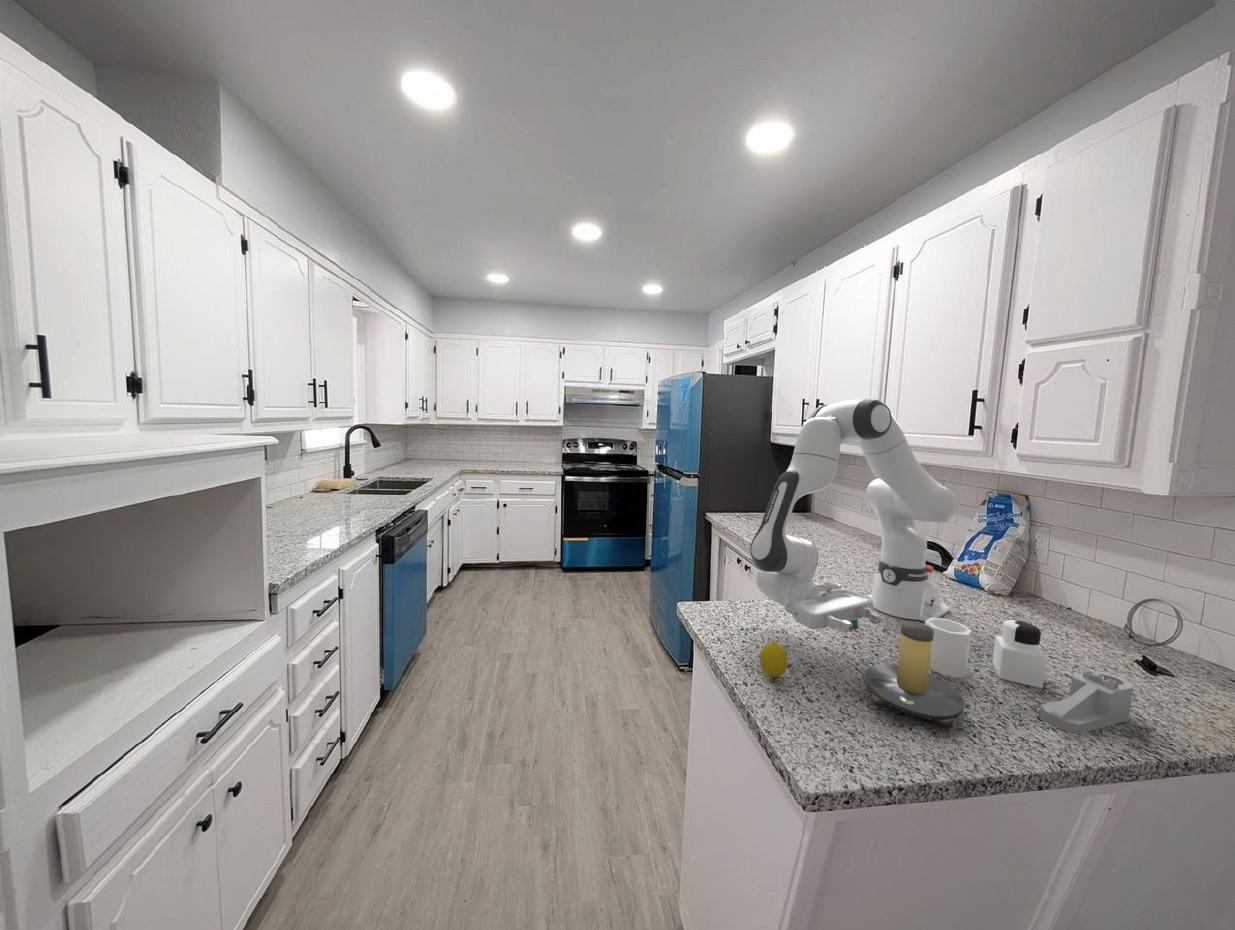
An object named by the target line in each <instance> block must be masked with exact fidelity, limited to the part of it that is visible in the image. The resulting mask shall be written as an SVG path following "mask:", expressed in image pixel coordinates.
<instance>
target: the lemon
mask: <svg viewBox="0 0 1235 930" xmlns="http://www.w3.org/2000/svg"><path fill="white" fill-rule="evenodd" d="M759 664H760V667H761V669H762V671H763V672H764V674H766V675H767V676H769V677H770V678H772V679H775V678H777V677H781V676H782V675H783V674H784V673H785V672H786V670H787V667H788V656H787V651H786V650H785V648H784V647H783V646H782V645H781V644H779V643H778V642H776V641H770V642H767V643H766V644H764V645H763V646H762V648H761V651H760V654H759Z"/></svg>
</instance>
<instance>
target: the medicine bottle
mask: <svg viewBox="0 0 1235 930" xmlns="http://www.w3.org/2000/svg"><path fill="white" fill-rule="evenodd" d="M1041 636H1042V631H1041V629H1040V628H1039V627H1037V626H1035V625H1033V624H1031V623H1029V622H1026V621H1022V620H1017V619H1009V620H1006V621H1004V622H1003V627H1002V635H995V638H994V646H993V654H992V655H993V656H992V666H993V667H994V670H995V672H996V674H997V675H998V677H999V679H1001V680H1005V681H1008V682H1009V681H1010V682H1013V683H1016V684H1021V685H1026V686H1029V687H1034V688H1038V689H1043V688H1044V684H1045V683H1044V681H1045V680H1044V679H1045V673H1046V666H1047V665H1046V664H1047V656H1046V655H1045V653H1044V652H1043V651H1042V650H1041V648H1040V645H1041Z"/></svg>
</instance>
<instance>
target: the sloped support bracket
mask: <svg viewBox="0 0 1235 930" xmlns="http://www.w3.org/2000/svg"><path fill="white" fill-rule="evenodd" d="M1070 682H1071V683H1070V688H1069V697H1067V698H1065V699H1061V700H1057V701H1052V702H1047V703H1042V704H1040V711H1039V714H1040V716H1041V718H1042V719H1043V720H1044V721H1045V722H1047V723H1048V724H1050V725H1053V727H1054V726H1055V727H1057V728H1058V729H1060V730H1061V731H1066V732H1069V733H1073V734H1075V735H1078V734H1083V733H1087V732H1090V731H1094V730H1097V729H1098V730H1099V729H1101V728H1106V727H1110V726H1113V725H1118V724H1121V723H1125V722H1129V719H1130V713H1131V705H1132V698H1133V692H1134V684H1132V682H1131V681H1128V680H1127V679H1125V678H1123V677H1120V676H1117V675H1115V674H1112V673H1108V672H1105V671H1097V670H1090V669H1088V670H1083V672H1082V673H1077V674H1074V675H1073V676H1072V677H1071V681H1070Z"/></svg>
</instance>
